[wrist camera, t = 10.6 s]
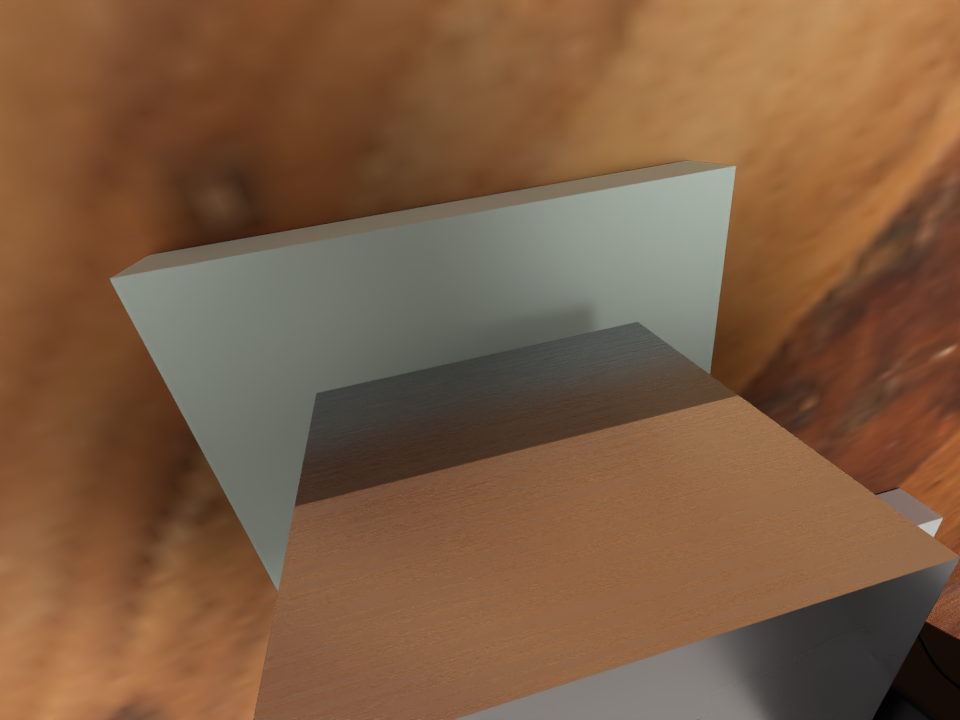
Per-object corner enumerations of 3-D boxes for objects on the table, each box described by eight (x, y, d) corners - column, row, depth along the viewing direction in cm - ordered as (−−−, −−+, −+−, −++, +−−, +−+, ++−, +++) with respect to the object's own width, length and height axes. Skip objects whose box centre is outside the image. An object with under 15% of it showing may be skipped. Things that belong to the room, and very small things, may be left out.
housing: (637, 321, 8) (960, 557, 4) (629, 581, 11) (792, 866, 7) (316, 392, 7) (239, 789, 3) (407, 647, 11) (435, 1009, 6)
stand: (687, 160, 10) (735, 165, 9) (659, 519, 15) (687, 556, 14) (148, 255, 9) (109, 278, 7) (322, 614, 14) (317, 665, 13)
